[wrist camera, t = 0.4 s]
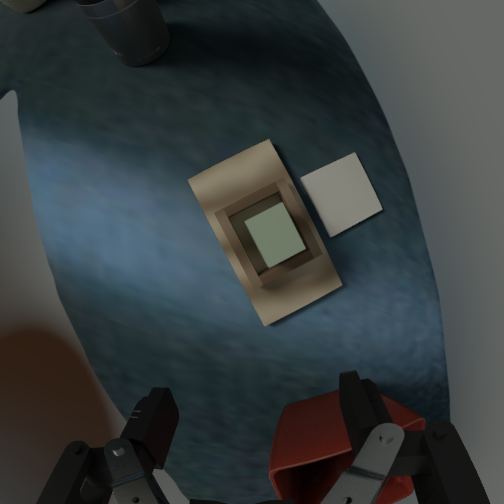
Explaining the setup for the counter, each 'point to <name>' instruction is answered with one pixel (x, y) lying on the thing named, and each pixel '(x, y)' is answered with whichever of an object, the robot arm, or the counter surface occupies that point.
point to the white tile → (341, 194)
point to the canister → (23, 4)
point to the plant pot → (326, 449)
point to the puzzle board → (242, 244)
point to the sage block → (275, 235)
